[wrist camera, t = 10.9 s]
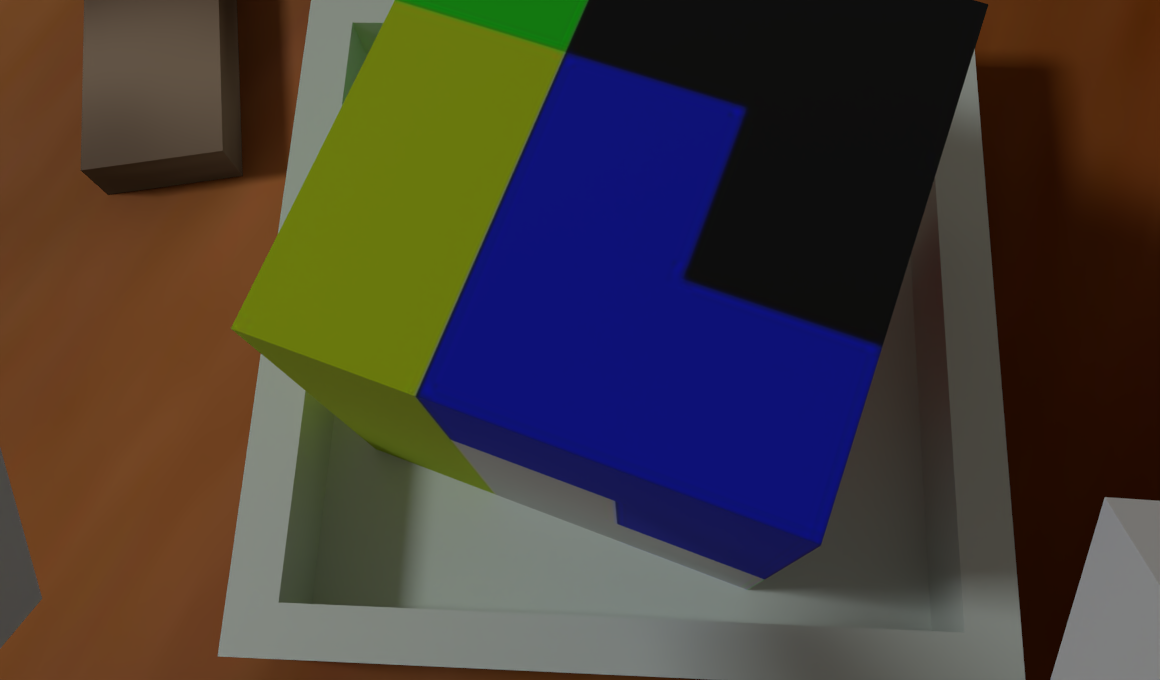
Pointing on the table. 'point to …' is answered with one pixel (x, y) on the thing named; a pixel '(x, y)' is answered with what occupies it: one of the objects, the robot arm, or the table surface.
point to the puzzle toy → (621, 253)
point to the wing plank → (160, 93)
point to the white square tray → (622, 572)
